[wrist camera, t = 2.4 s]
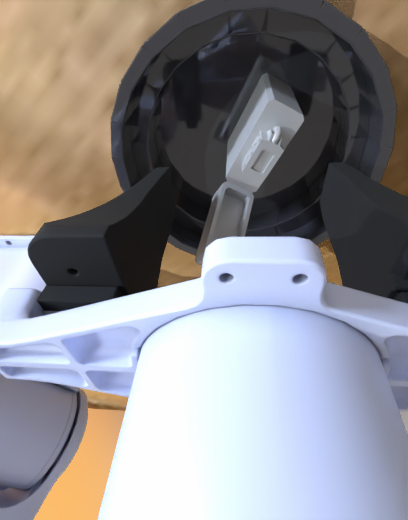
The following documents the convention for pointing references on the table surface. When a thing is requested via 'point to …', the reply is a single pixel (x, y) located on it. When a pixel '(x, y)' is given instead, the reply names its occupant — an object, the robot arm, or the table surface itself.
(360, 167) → the pan
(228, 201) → the lighter
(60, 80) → the table surface
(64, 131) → the table surface
